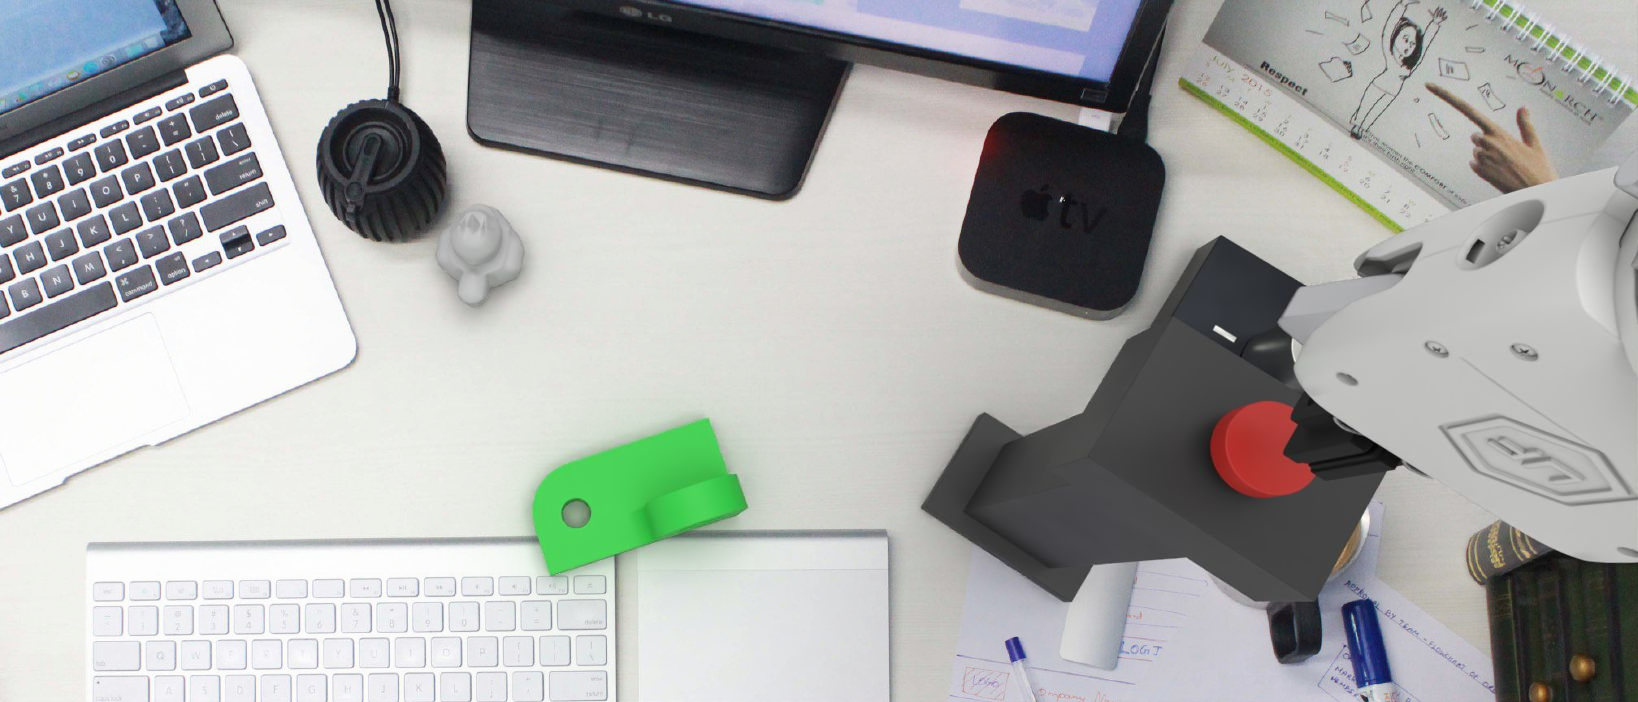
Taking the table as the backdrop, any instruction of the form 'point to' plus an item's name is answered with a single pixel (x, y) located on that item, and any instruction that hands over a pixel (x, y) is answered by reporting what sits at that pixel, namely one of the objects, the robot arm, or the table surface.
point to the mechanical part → (636, 496)
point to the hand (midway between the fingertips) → (1321, 431)
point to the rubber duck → (480, 252)
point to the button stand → (1147, 481)
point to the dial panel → (1229, 294)
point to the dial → (1275, 356)
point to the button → (1258, 451)
